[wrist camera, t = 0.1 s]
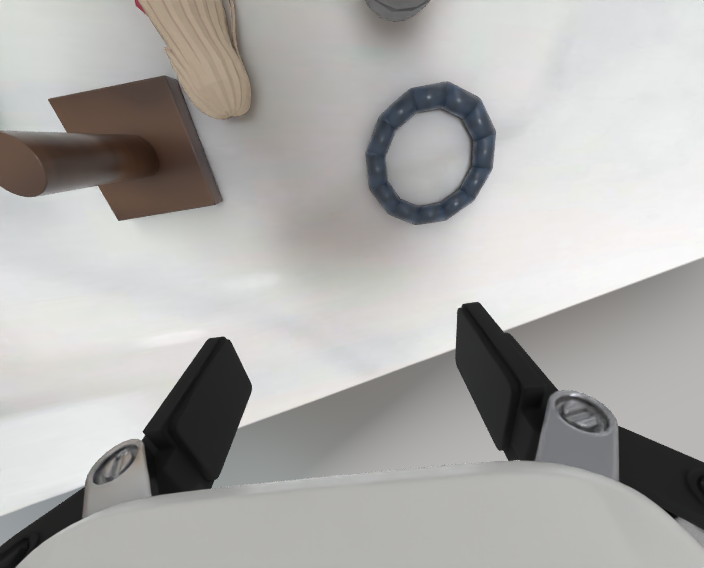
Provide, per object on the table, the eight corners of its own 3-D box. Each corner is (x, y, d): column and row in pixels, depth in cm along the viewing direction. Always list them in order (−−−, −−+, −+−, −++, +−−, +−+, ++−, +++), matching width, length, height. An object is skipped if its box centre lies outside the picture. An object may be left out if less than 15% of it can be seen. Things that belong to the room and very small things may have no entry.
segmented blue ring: (358, 99, 21) (359, 96, 19) (494, 73, 20) (505, 68, 19) (373, 228, 25) (375, 233, 24) (483, 211, 25) (491, 215, 23)
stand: (66, 101, 20) (-168, 68, 11) (176, 79, 20) (28, 25, 11) (130, 216, 25) (-1, 262, 15) (223, 201, 24) (145, 238, 15)
